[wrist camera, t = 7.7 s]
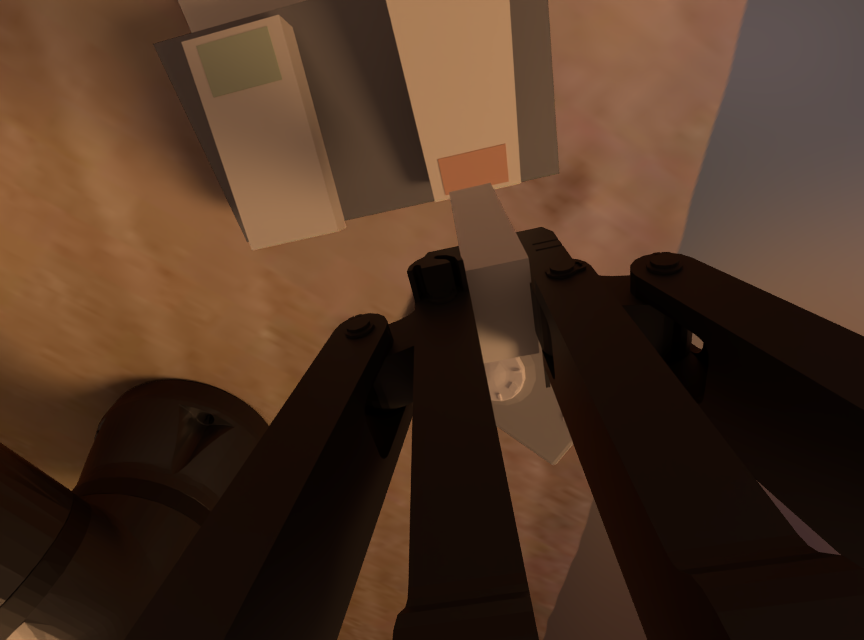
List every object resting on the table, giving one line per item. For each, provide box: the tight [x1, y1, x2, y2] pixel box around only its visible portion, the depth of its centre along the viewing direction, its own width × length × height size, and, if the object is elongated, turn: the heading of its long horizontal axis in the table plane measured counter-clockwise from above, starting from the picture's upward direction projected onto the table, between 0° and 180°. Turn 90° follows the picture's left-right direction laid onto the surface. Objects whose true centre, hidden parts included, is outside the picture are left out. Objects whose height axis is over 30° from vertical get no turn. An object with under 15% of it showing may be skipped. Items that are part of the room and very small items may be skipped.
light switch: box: [484, 340, 573, 465], centre depth 33 cm, size 8×6×14 cm
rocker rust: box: [386, 0, 521, 202], centre depth 19 cm, size 4×9×2 cm, turn 12°
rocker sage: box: [181, 15, 346, 250], centre depth 20 cm, size 4×9×2 cm, turn 12°
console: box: [153, 0, 559, 242], centre depth 23 cm, size 18×13×6 cm
